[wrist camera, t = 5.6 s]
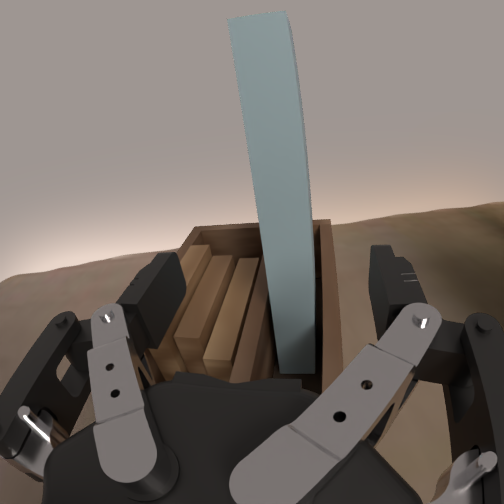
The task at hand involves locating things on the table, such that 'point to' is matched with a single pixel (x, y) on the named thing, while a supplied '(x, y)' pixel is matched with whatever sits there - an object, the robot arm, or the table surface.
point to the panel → (279, 179)
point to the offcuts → (208, 315)
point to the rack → (259, 314)
